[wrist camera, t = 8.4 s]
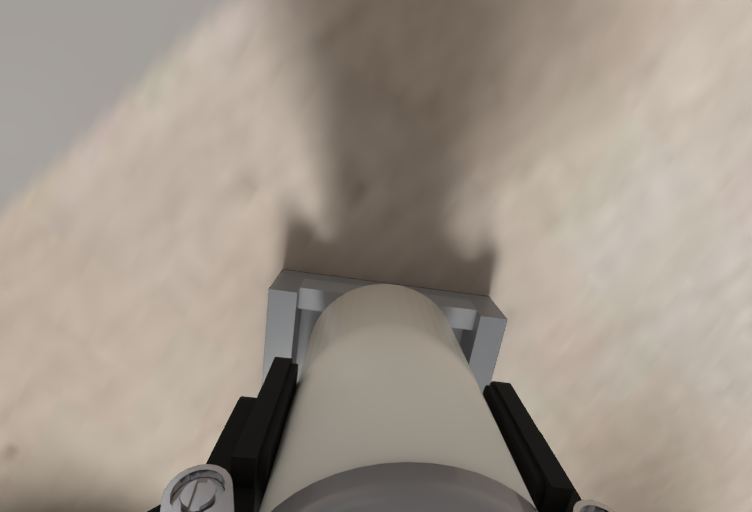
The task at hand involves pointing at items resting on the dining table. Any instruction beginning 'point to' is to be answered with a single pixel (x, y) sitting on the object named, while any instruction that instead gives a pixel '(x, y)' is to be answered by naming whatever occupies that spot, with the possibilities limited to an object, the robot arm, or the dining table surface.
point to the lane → (316, 292)
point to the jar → (390, 417)
